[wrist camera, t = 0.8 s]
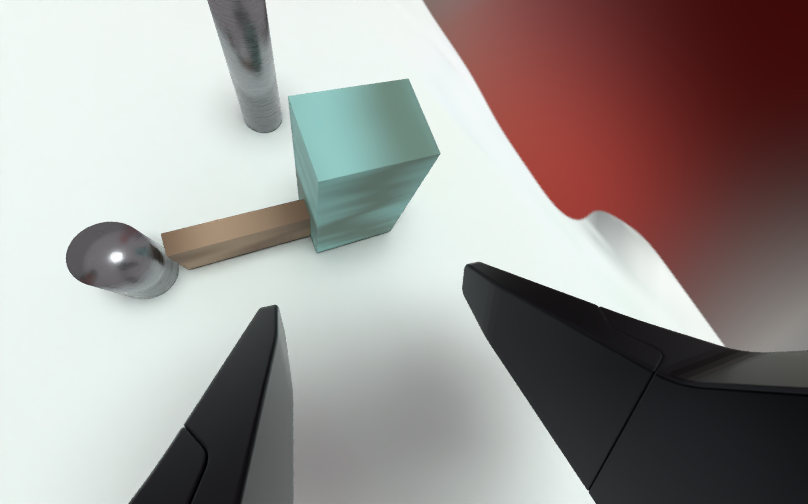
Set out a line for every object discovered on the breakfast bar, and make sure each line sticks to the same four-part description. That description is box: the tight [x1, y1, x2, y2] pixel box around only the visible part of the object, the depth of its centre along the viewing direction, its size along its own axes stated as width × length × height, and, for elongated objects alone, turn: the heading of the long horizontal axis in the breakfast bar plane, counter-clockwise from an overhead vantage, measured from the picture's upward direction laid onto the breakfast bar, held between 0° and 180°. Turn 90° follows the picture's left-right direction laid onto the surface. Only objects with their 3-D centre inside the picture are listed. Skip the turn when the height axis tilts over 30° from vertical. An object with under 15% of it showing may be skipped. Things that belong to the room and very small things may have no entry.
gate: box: [161, 79, 440, 270], centre depth 17 cm, size 12×4×10 cm, turn 112°
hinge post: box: [66, 222, 178, 299], centre depth 17 cm, size 3×3×4 cm
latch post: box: [207, 0, 282, 133], centre depth 19 cm, size 2×2×10 cm
